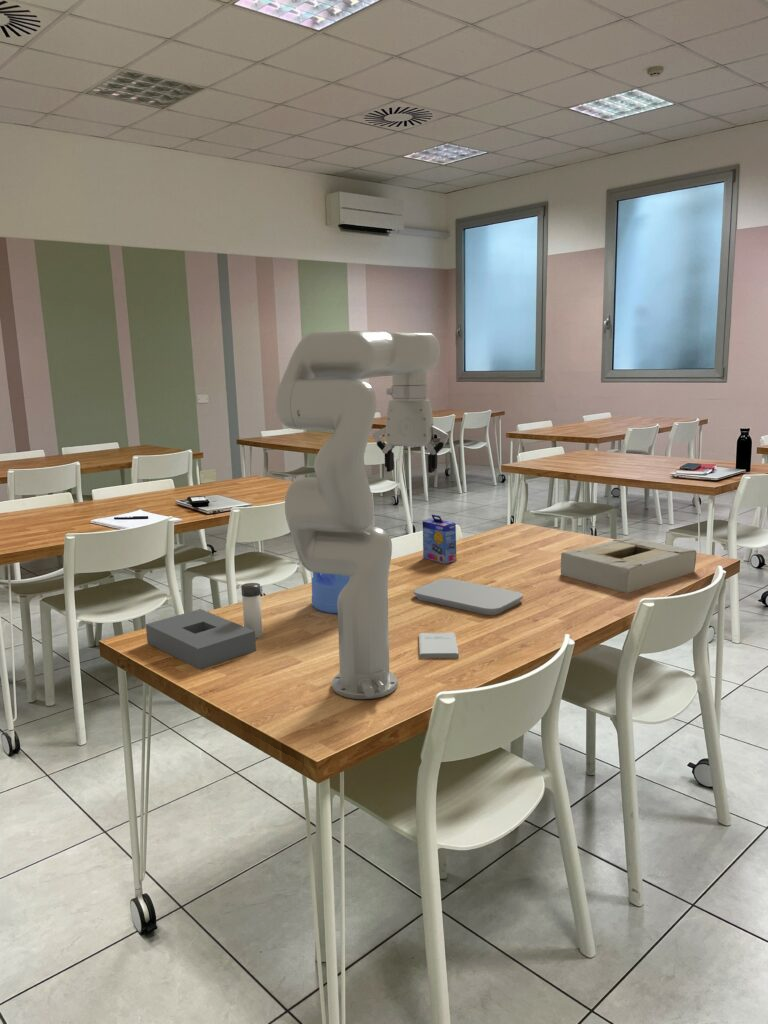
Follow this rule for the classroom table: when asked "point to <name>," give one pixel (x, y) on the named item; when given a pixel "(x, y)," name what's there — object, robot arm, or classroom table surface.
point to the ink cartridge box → (439, 540)
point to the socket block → (200, 638)
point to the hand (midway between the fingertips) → (410, 471)
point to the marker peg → (252, 607)
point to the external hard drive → (438, 645)
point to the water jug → (327, 591)
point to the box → (628, 563)
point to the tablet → (468, 596)
